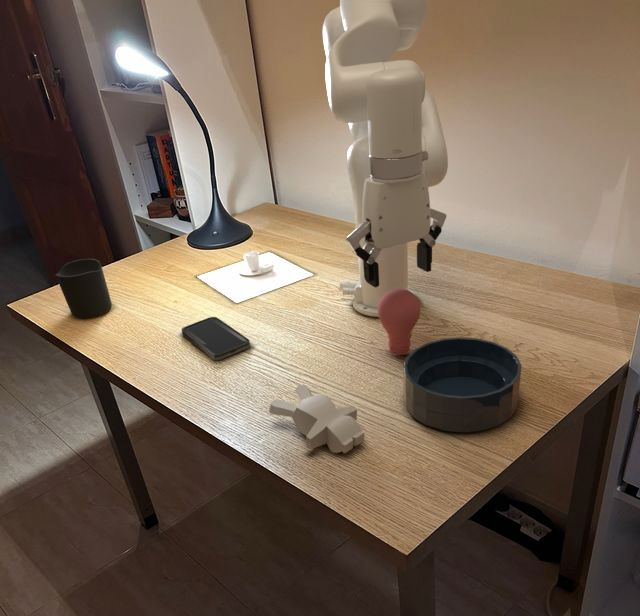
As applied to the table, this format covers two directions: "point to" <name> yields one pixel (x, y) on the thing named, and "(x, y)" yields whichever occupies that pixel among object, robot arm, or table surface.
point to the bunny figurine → (321, 421)
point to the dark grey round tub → (461, 384)
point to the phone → (215, 338)
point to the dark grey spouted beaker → (84, 288)
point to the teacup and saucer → (254, 276)
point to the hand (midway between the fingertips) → (398, 276)
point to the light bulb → (399, 318)
